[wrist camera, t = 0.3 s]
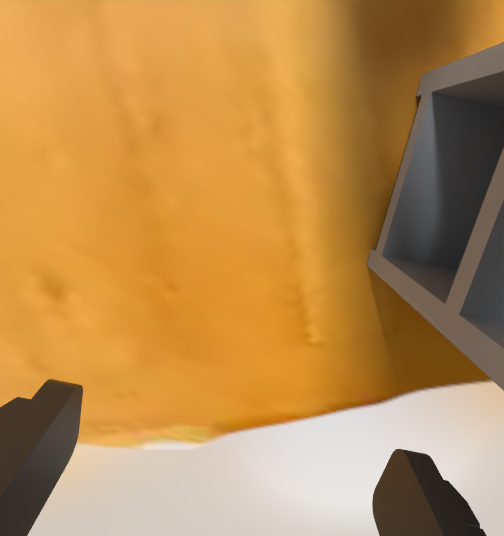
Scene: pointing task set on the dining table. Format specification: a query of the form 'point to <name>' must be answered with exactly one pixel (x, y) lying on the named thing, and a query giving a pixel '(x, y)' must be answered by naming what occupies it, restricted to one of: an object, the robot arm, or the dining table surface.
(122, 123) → the dining table surface
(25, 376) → the dining table surface
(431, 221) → the tall grey box
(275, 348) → the dining table surface
